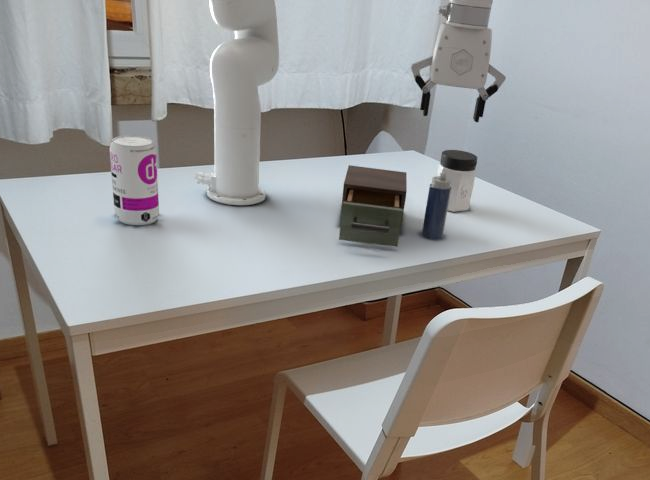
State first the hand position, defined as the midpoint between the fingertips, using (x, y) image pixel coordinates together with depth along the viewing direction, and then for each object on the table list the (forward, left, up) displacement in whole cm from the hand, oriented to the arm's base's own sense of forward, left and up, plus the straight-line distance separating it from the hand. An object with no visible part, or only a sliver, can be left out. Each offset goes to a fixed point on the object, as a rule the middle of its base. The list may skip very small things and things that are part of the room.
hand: (450, 117), depth 126 cm
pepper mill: (0, +1, -24) cm, 24 cm away
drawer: (-12, -6, -23) cm, 27 cm away
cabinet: (-12, +6, -24) cm, 28 cm away
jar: (+6, +22, -24) cm, 33 cm away
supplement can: (-57, -10, -24) cm, 63 cm away
